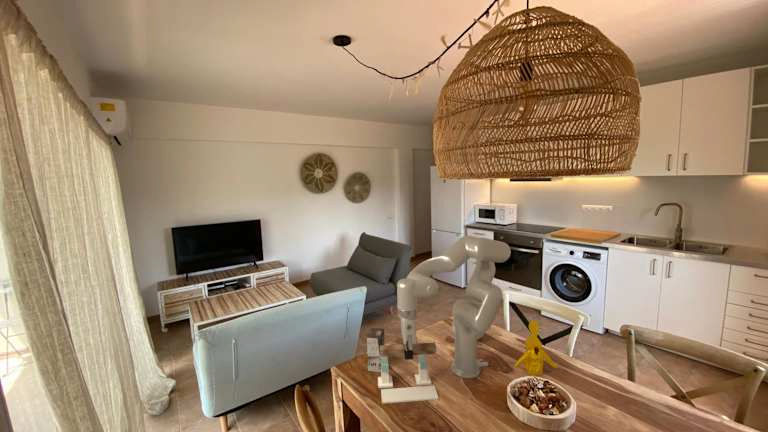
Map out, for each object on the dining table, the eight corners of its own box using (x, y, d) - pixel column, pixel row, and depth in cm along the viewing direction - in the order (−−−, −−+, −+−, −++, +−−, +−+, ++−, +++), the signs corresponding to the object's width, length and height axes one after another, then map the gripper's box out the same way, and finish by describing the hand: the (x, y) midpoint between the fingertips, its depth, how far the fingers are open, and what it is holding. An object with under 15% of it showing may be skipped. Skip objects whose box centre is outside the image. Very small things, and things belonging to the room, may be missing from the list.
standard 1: (391, 377, 134) (391, 356, 132) (392, 387, 128) (392, 365, 126) (377, 378, 133) (377, 357, 132) (378, 388, 127) (377, 366, 126)
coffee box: (381, 372, 137) (380, 338, 135) (367, 371, 139) (366, 337, 136) (385, 360, 146) (384, 328, 144) (372, 358, 147) (371, 327, 145)
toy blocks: (428, 375, 135) (428, 353, 133) (431, 384, 129) (431, 362, 127) (414, 376, 134) (414, 354, 133) (417, 385, 128) (416, 363, 127)
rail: (434, 349, 123) (434, 342, 122) (436, 353, 120) (436, 346, 119) (380, 352, 121) (379, 345, 121) (380, 357, 118) (380, 350, 118)
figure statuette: (515, 376, 132) (517, 328, 129) (510, 364, 140) (511, 318, 137) (559, 377, 131) (562, 328, 127) (551, 365, 138) (554, 319, 135)
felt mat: (434, 386, 127) (434, 385, 127) (438, 399, 120) (438, 398, 120) (381, 390, 126) (381, 389, 126) (382, 403, 119) (381, 402, 119)
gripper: (421, 321, 110) (421, 368, 113) (413, 302, 126) (414, 343, 129) (400, 322, 110) (401, 370, 112) (395, 302, 126) (396, 344, 128)
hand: (408, 355), depth 121 cm, fingers closed on rail, 3 cm apart
